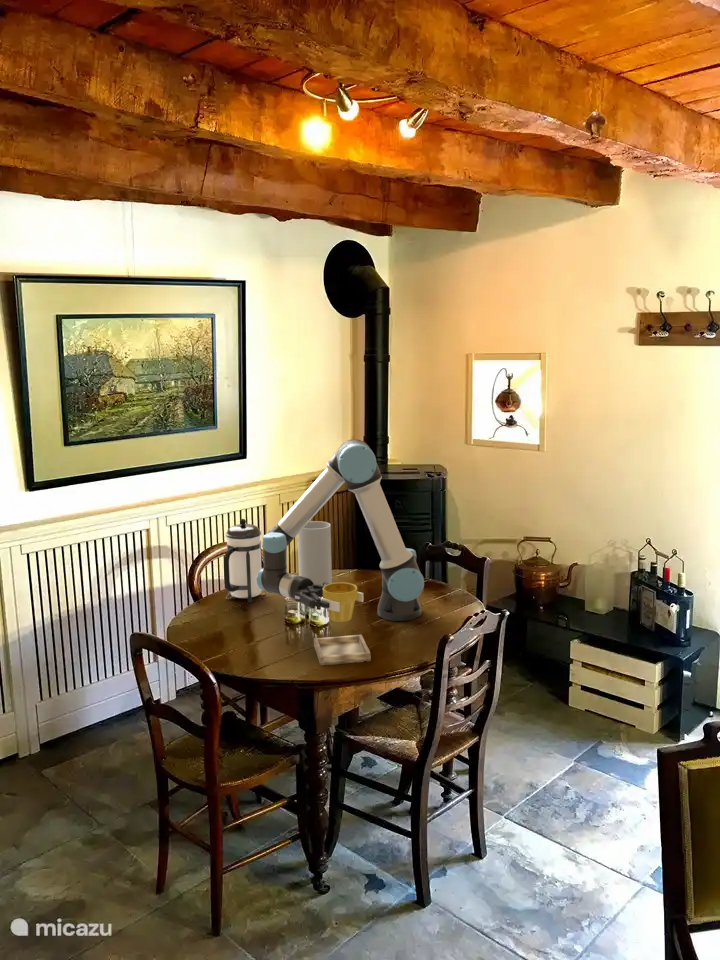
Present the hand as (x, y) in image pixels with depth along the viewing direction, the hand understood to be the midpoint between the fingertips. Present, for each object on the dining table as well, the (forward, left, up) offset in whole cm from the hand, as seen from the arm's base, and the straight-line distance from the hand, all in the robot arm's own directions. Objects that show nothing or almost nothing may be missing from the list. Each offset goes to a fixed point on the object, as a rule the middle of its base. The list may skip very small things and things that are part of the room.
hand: (351, 602), depth 230 cm
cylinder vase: (+3, -67, -17) cm, 70 cm away
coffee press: (+30, -61, -17) cm, 70 cm away
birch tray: (+3, -3, -17) cm, 18 cm away
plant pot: (+3, -3, -6) cm, 8 cm away
